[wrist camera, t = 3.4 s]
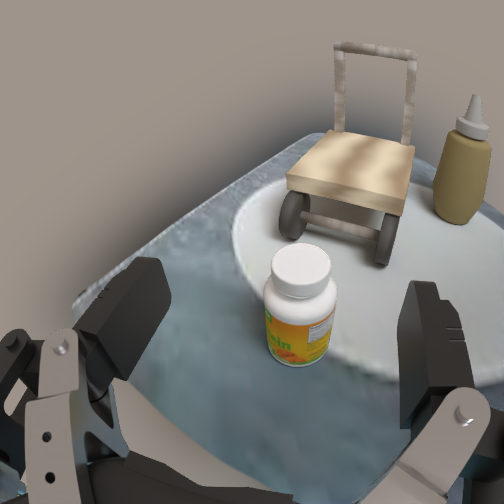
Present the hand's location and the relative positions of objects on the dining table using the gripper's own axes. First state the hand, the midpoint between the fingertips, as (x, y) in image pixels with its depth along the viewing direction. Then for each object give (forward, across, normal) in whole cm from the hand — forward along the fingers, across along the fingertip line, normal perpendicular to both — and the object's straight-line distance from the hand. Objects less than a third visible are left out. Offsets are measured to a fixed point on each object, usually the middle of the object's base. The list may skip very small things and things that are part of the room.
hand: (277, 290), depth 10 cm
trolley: (+32, -4, +13) cm, 35 cm away
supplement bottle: (+10, +1, +16) cm, 19 cm away
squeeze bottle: (+34, -19, +14) cm, 41 cm away
